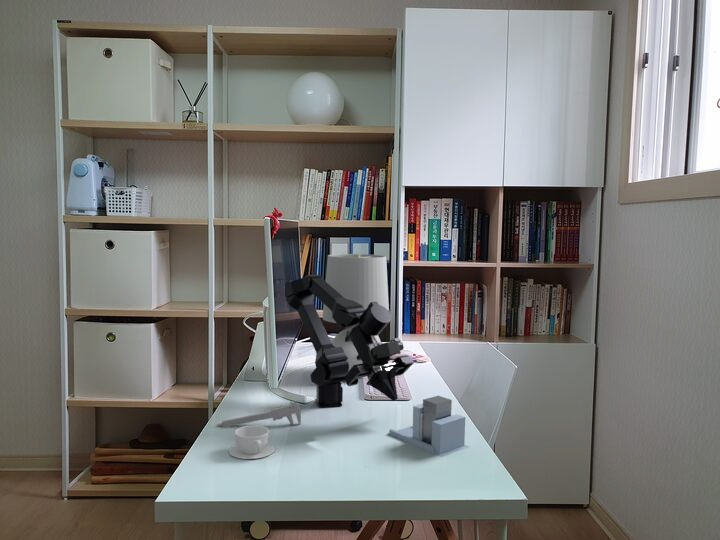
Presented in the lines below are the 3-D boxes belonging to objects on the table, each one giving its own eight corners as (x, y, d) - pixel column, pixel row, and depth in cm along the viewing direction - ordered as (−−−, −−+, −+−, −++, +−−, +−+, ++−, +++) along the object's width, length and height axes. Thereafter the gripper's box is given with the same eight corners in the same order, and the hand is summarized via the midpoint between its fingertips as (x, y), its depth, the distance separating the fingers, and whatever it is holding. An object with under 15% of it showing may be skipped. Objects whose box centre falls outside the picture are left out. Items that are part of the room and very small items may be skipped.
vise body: (387, 438, 138) (388, 406, 137) (414, 430, 143) (415, 399, 143) (441, 461, 125) (442, 426, 124) (469, 451, 130) (470, 417, 130)
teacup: (223, 447, 131) (223, 427, 130) (265, 440, 136) (265, 420, 135) (236, 464, 122) (236, 442, 122) (281, 456, 127) (281, 434, 126)
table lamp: (364, 390, 176) (366, 257, 173) (306, 379, 187) (307, 253, 184) (400, 374, 195) (402, 254, 192) (345, 365, 207) (347, 251, 203)
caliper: (300, 424, 147) (300, 399, 146) (300, 426, 146) (300, 401, 145) (217, 426, 144) (217, 401, 144) (216, 428, 143) (216, 402, 143)
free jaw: (412, 440, 133) (413, 406, 132) (431, 434, 137) (432, 400, 137) (419, 443, 131) (420, 408, 131) (439, 437, 135) (440, 403, 135)
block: (421, 443, 132) (423, 399, 131) (437, 438, 135) (438, 395, 134) (435, 448, 129) (436, 404, 128) (450, 443, 132) (451, 399, 131)
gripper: (353, 331, 138) (383, 389, 131) (409, 324, 150) (440, 376, 143) (332, 358, 145) (359, 413, 137) (387, 348, 157) (416, 399, 149)
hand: (395, 399), depth 142 cm, fingers closed
